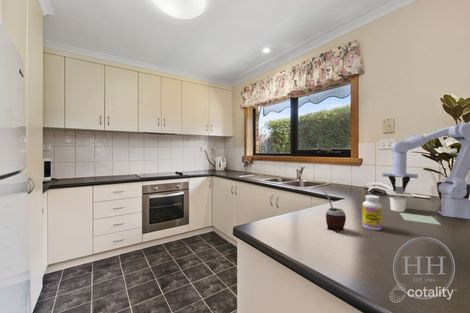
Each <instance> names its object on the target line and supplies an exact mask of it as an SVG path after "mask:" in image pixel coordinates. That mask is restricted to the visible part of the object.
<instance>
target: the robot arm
mask: <svg viewBox="0 0 470 313" xmlns="http://www.w3.org/2000/svg"><path fill="white" fill-rule="evenodd" d="M443 137H450V138H452V139H454V140H455V141H457V142H458V143H459V144H460V145H461V147H460V148H459V152H458V153H457V157H456V158H455V161H454V163H453V165H452V168H451V170H450V173H449V175H448V176H447V177H446V178H445V179H443V181H442V182H441V183H440V184H439V185H438V191H439V192H440V193H441V195H440V197H441V198H440V199H441V201H440V211H437V213H439V214H440V215H441V216H444V217H451V218H452V217H453V218H460V219H467V220H468V219H469V220H470V199H469V198H465V196H467V193H468V190H467V186H468V183H467V181H466V178H467V176H468V173H469V171H470V122H465V123H461V124H455V125H451V126H446V127H442V128H440V129H436V130H434V131H431V132H429V133H427V134H424V135H421V134H414V135H413V134H412V135H411V137H408V138H403V139H401V140H400V141H397V142H394V143H392V144H391V147H390V150H391V152H392V158H391V159H392V165H391V166H392V167H391V172H381V177H383V178H385V177H386V178H387V177H388V179H389V181H390V183H391V185H392V186H391V187H392V191H396V187H397V186H396V182H397V181H396V180H397V179H396V178H402V179H401V182H402V186H401V187H403V188H404V192H406V188H407V185H408V184H409V182H410V181H411V179H418V178H419V174H416V173H407V158H408V157H407V156H408V155H407V152H408V151H410V150H414V149H417V148H420V147H423V146H425V145H426V142H429V141H431V140H435V139H438V138H443ZM395 186H396V187H395Z"/></svg>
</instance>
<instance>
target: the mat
mask: <svg viewBox="0 0 470 313" xmlns="http://www.w3.org/2000/svg"><path fill="white" fill-rule="evenodd" d="M399 215H401V218H403V220H404V221H410V222H417V223H418V222H419V223H425V224H432V225H440V226H441V225H442V224H441V223H440V222H439V221H437V219H436V218H434V217H433V216H429V215H419V214H412V213H404V212H399Z"/></svg>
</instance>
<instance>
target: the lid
mask: <svg viewBox="0 0 470 313" xmlns="http://www.w3.org/2000/svg"><path fill="white" fill-rule="evenodd" d="M395 187H396V191H393V190H392V191H391V190H385V193H386V194H387V195H389V196H395V197H411V198H414V197H415V196H414V194H412V193H411V192H406V191H405V192H404V188H403V187H402V186H397V185H395Z"/></svg>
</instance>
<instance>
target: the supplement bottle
mask: <svg viewBox="0 0 470 313" xmlns="http://www.w3.org/2000/svg"><path fill="white" fill-rule="evenodd" d="M379 201H380V196H378V195H371V194H367V195H365V201H363V202H362V213H361V214H362V216H361V218H362V220H361V222H362V227H363V228H364V229H368V230H372V231H381V229H382V226H383V224H382V222H383V218H382V217H383V204H382V203H381V202H379Z"/></svg>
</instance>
